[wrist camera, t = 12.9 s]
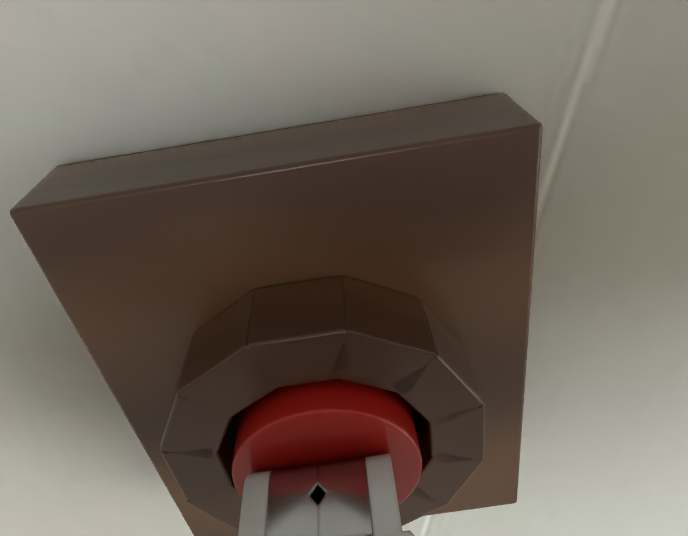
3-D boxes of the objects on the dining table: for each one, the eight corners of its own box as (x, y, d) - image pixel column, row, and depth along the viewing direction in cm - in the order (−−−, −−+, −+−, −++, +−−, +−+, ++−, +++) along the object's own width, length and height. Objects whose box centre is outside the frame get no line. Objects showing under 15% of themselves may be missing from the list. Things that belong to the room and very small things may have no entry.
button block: (54, 165, 11) (-51, 263, 8) (506, 91, 11) (591, 161, 8) (210, 485, 18) (188, 611, 15) (496, 444, 18) (539, 564, 14)
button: (219, 363, 11) (206, 428, 10) (402, 335, 11) (416, 397, 10) (262, 473, 13) (257, 540, 12) (414, 451, 13) (428, 516, 12)
